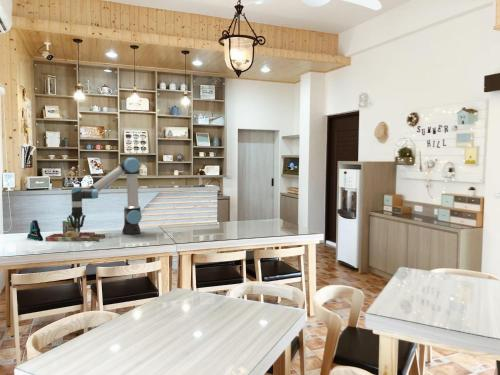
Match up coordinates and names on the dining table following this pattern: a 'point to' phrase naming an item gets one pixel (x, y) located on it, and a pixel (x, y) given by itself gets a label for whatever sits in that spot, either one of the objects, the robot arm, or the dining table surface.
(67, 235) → the ochre block
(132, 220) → the robot arm
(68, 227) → the green lantern
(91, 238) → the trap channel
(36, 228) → the decorative sign
